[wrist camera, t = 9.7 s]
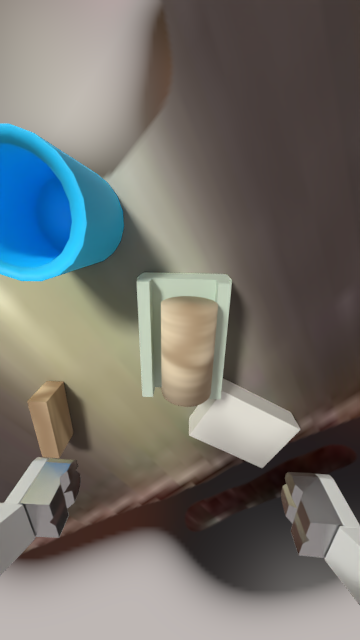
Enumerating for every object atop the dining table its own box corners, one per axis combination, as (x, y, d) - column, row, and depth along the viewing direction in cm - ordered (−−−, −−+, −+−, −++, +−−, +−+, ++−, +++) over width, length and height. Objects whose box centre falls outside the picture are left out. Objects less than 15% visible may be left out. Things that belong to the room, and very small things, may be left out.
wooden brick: (63, 381, 27) (46, 402, 24) (73, 433, 30) (59, 457, 27) (46, 381, 27) (27, 401, 24) (58, 432, 30) (42, 457, 27)
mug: (142, 219, 21) (115, 211, 13) (87, 282, 23) (36, 307, 15) (29, 99, 18) (-91, -1, 10) (-21, 184, 20) (-150, 154, 12)
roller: (209, 295, 20) (226, 311, 16) (203, 373, 23) (217, 403, 19) (158, 296, 19) (163, 313, 15) (159, 376, 22) (163, 409, 18)
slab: (289, 409, 28) (300, 429, 25) (255, 446, 30) (262, 468, 27) (219, 374, 26) (222, 391, 24) (189, 415, 29) (189, 435, 26)
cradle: (226, 274, 22) (235, 283, 18) (218, 372, 26) (223, 399, 22) (143, 272, 22) (132, 281, 18) (147, 369, 26) (139, 396, 22)
